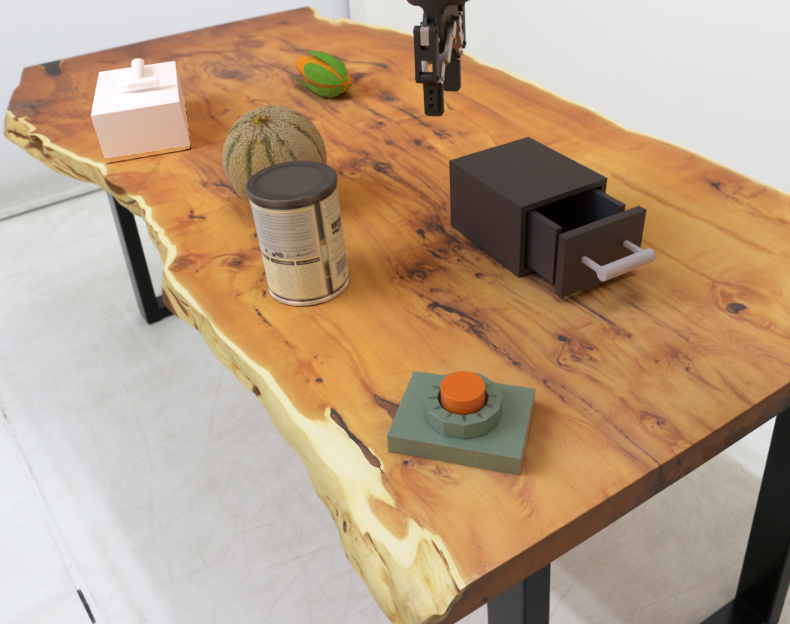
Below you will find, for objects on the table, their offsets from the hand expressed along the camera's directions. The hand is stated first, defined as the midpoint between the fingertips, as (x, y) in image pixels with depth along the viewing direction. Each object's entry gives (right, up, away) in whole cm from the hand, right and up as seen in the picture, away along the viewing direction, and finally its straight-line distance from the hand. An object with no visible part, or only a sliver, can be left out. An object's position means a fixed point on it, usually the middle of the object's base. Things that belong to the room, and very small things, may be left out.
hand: (443, 102), depth 85 cm
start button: (0, -33, -21) cm, 39 cm away
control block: (+1, -36, -19) cm, 41 cm away
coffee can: (-17, -22, +3) cm, 27 cm away
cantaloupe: (-23, -9, +21) cm, 32 cm away
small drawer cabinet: (+11, -15, +9) cm, 21 cm away
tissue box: (-52, +9, +49) cm, 72 cm away
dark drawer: (+16, -19, +1) cm, 25 cm away
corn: (-21, +20, +61) cm, 68 cm away
